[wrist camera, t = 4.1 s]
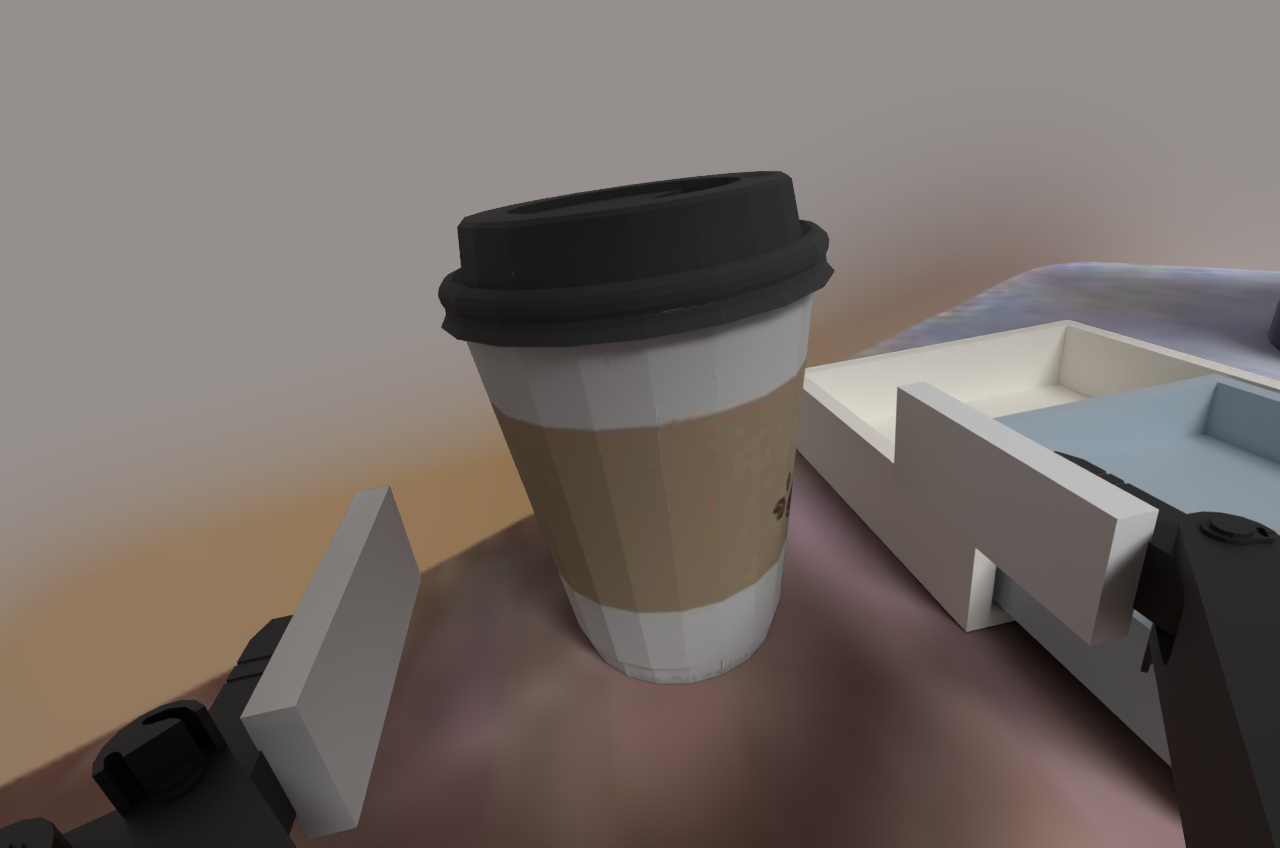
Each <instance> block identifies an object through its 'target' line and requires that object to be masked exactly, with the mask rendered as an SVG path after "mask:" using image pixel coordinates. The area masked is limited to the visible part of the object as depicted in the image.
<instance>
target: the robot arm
mask: <svg viewBox="0 0 1280 848" xmlns="http://www.w3.org/2000/svg"><path fill="white" fill-rule="evenodd" d="M1269 337H1270V339H1271V340H1272V342H1273V343H1275V344H1276V345H1277V346H1278V347H1280V300H1279V302H1278V304H1277V307H1276V310H1275V314H1274V317H1273V320H1272V324H1271V327H1270V330H1269ZM894 478H895V479H896V480H897V481H898V482H899V483H901V484H902V485H903V486H904V487H905V488H906V489H908V490H909V491H910V492H911V493H912V494H913V495H915V496H916V497H917V498H918V499H919V500H920V501H922V502H923V503H924V504H925V505H926V506H927V507H929V508H930V509H931V510H932V511H933V512H934V513H936V514H937V515H938V516H939V517H940V518H941V519H943V520H944V521H945V522H946V523H947V524H948V525H950V526H951V527H952V528H953V529H954V530H955V531H957V532H958V533H959V534H960V535H961V536H962V537H964V538H965V539H966V540H967V541H968V542H969V543H971V544H972V545H973V546H974V547H975V548H976V549H978V550H979V551H980V552H981V553H982V554H983V555H985V556H986V557H987V558H988V559H989V560H990V561H992V562H993V563H994V564H995V565H996V566H997V567H999V568H1000V569H1001V570H1002V571H1003V572H1004V573H1006V574H1007V575H1008V576H1009V577H1010V578H1011V579H1013V580H1014V581H1015V582H1016V583H1017V584H1018V585H1020V586H1021V587H1022V588H1023V589H1024V590H1025V591H1027V592H1028V593H1029V594H1030V595H1031V596H1032V597H1034V598H1035V599H1036V600H1037V601H1038V602H1039V603H1041V604H1042V605H1043V606H1044V607H1045V608H1046V609H1048V610H1049V611H1050V612H1051V613H1052V614H1054V615H1055V616H1056V617H1057V618H1058V619H1059V620H1061V621H1062V622H1063V623H1064V624H1065V625H1066V626H1068V627H1069V628H1070V629H1071V630H1072V631H1073V632H1075V633H1076V634H1077V635H1078V636H1079V637H1080V638H1082V639H1083V640H1084V641H1085V642H1086V643H1087V644H1089V645H1094V644H1098V643H1102V642H1106V641H1110V640H1115V639H1119V638H1123V637H1127V636H1128V632H1129V628H1130V624H1131V620H1132V616H1133V612H1134V609H1135V610H1136V611H1137V612H1139V613H1140V614H1142V615H1143V616H1144V617H1146V618H1147V619H1148V620H1150V621H1151V622H1152V623H1153V624H1152V627H1151V631H1150V635H1149V638H1148V642H1147V646H1146V650H1145V653H1144V657H1143V661H1142V665H1141V669H1140V671H1141V672H1145V673H1148V671H1149V668H1150V665H1152V664H1153V667H1154V672H1155V678H1156V683H1157V689H1158V694H1159V700H1160V705H1161V711H1162V717H1163V722H1164V728H1165V733H1166V739H1167V744H1168V750H1169V755H1170V761H1171V766H1172V772H1173V777H1174V783H1175V789H1176V794H1177V800H1178V805H1179V811H1180V816H1181V822H1182V827H1183V833H1184V838H1185V844H1186V848H1280V535H1278V534H1277V533H1276V532H1275V531H1274V530H1272V529H1270V528H1268V527H1266V526H1265V525H1263V524H1261V523H1259V522H1256V521H1253V520H1250V519H1247V518H1245V517H1242V516H1237V515H1232V514H1227V513H1222V512H1207V511H1202V512H1195V513H1189V514H1186V513H1184V512H1182V511H1180V510H1178V509H1177V508H1175V507H1173V506H1171V505H1169V504H1167V503H1165V502H1163V501H1162V500H1160V499H1158V498H1156V497H1154V496H1152V495H1150V494H1148V493H1146V492H1145V491H1143V490H1141V489H1139V488H1137V487H1135V486H1133V485H1131V484H1130V483H1127V484H1125V483H1124V480H1122V479H1120V478H1118V477H1116V476H1114V475H1113V474H1111V473H1110V474H1107V473H1106V471H1105V470H1103V469H1101V468H1099V467H1097V466H1096V465H1094V464H1092V463H1090V462H1088V461H1086V460H1084V459H1081V458H1078V457H1075V456H1071V455H1068V454H1065V453H1061V452H1058V451H1054V452H1053V451H1051V450H1049V449H1047V448H1045V447H1044V446H1042V445H1040V444H1038V443H1036V442H1034V441H1033V440H1031V439H1029V438H1027V437H1025V436H1023V435H1022V434H1020V433H1018V432H1016V431H1014V430H1012V429H1011V428H1009V427H1007V426H1005V425H1003V424H1001V423H1000V422H998V421H996V420H994V419H992V418H991V417H989V416H987V415H985V414H983V413H981V412H980V411H978V410H976V409H974V408H972V407H970V406H969V405H967V404H965V403H963V402H961V401H959V400H958V399H956V398H954V397H952V396H950V395H949V394H947V393H945V392H943V391H941V390H939V389H938V388H936V387H934V386H932V385H930V384H928V383H927V382H925V381H923V382H918V383H913V384H908V385H903V386H898V387H897V405H896V429H895V454H894ZM420 581H421V574H420V572H419V569H418V566H417V563H416V560H415V557H414V554H413V551H412V549H411V546H410V543H409V540H408V537H407V534H406V531H405V528H404V526H403V523H402V520H401V517H400V514H399V511H398V508H397V506H396V502H395V500H394V497H393V494H392V491H391V488H390V486H385V487H380V488H375V489H370V490H365V491H360V492H357V493H356V496H355V497H354V499H353V501H352V503H351V505H350V507H349V509H348V511H347V513H346V515H345V517H344V519H343V520H342V523H341V524H340V527H339V528H338V530H337V532H336V534H335V536H334V538H333V540H332V542H331V544H330V546H329V548H328V549H327V551H326V553H325V555H324V557H323V559H322V561H321V563H320V565H319V567H318V569H317V571H316V573H315V575H314V576H313V579H312V580H311V582H310V584H309V586H308V588H307V590H306V592H305V594H304V596H303V598H302V599H301V601H300V603H299V605H298V607H297V609H296V611H295V613H294V615H290V616H286V617H281V618H276V619H272V620H271V621H270V622H269V623H268V624H266V626H264V627H263V628H262V629H261V630H260V631H259V632H258V633H257V634H256V635H255V636H254V637H253V638H252V639H251V640H250V641H249V643H248V645H247V646H246V648H245V650H244V651H243V653H242V655H241V657H240V658H239V660H238V662H237V663H238V665H237V666H235V667H234V669H233V670H232V672H231V674H230V675H229V677H228V679H227V684H225V685H224V686H223V687H222V689H221V691H220V693H219V694H218V696H217V698H216V699H215V701H214V703H213V705H212V706H211V708H210V710H209V711H207V709H206V707H205V706H204V705H203V704H201V703H199V702H198V701H196V700H180V701H176V702H173V703H169V704H166V705H162V706H160V707H158V708H156V709H154V710H152V711H150V712H148V713H146V714H144V715H142V716H140V717H138V718H137V719H135V720H134V721H133V722H131V723H130V724H128V725H127V726H126V727H124V728H123V729H121V730H120V731H119V732H118V733H117V734H116V735H115V736H114V737H113V738H112V739H111V740H110V741H109V742H108V743H107V744H106V745H105V746H104V747H103V748H102V750H101V751H100V753H99V754H98V756H97V758H96V759H95V761H94V763H93V771H92V777H93V778H94V780H95V781H96V783H97V784H98V785H99V787H100V788H101V789H102V791H103V792H104V793H105V795H106V796H107V797H108V799H109V800H110V801H111V803H112V804H113V805H114V807H115V808H116V809H117V810H115V811H113V812H110V813H108V814H106V815H104V816H102V817H100V818H98V819H95V820H93V821H91V822H89V823H87V824H85V825H83V826H80V827H78V828H76V829H74V830H72V831H70V832H68V833H65V834H63V835H62V834H61V833H60V832H59V830H58V829H57V828H56V827H55V825H54V824H53V823H52V822H50V821H48V820H46V819H43V818H34V819H26V820H22V821H19V822H17V823H14V824H12V825H9V826H7V827H4V828H2V829H0V848H297V847H296V846H295V844H294V843H293V841H292V840H291V838H290V837H289V833H290V831H291V828H292V825H293V822H294V819H295V817H296V819H297V820H298V822H299V824H300V826H301V828H302V829H303V831H304V833H305V835H306V836H307V838H308V840H309V839H313V838H317V837H321V836H325V835H329V834H333V833H337V832H341V831H345V830H349V829H353V828H357V826H358V822H359V818H360V814H361V810H362V806H363V802H364V799H365V795H366V791H367V787H368V783H369V779H370V775H371V771H372V767H373V764H374V760H375V756H376V752H377V748H378V744H379V740H380V736H381V732H382V728H383V725H384V721H385V717H386V713H387V709H388V705H389V701H390V697H391V693H392V690H393V686H394V682H395V678H396V674H397V670H398V666H399V662H400V658H401V655H402V651H403V647H404V643H405V639H406V635H407V631H408V627H409V623H410V619H411V616H412V612H413V608H414V604H415V600H416V596H417V592H418V588H419V584H420Z"/></svg>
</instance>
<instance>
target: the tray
mask: <svg viewBox="0 0 1280 848" xmlns="http://www.w3.org/2000/svg"><path fill="white" fill-rule="evenodd" d="M992 419H994V420H996V421H998V422H1000V423H1001V424H1003V425H1005V426H1007V427H1009V428H1011V429H1012V430H1014V431H1016V432H1018V433H1020V434H1022V435H1023V436H1025V437H1027V438H1029V439H1031V440H1033V441H1034V442H1036V443H1038V444H1040V445H1042V446H1044V447H1045V448H1047V449H1049V450H1051V451H1053V452H1054V451H1058V452H1061V453H1065V454H1068V455H1071V456H1075V457H1078V458H1081V459H1084V460H1086V461H1088V462H1090V463H1092V464H1094V465H1096V466H1097V467H1099V468H1101V469H1103V470H1105V471H1106V473H1107V474H1110V473H1111V474H1113V475H1114V476H1116V477H1118V478H1120V479H1122V480H1124V483H1125V484H1127V483H1130V484H1131V485H1133V486H1135V487H1137V488H1139V489H1141V490H1143V491H1145V492H1146V493H1148V494H1150V495H1152V496H1154V497H1156V498H1158V499H1160V500H1162V501H1163V502H1165V503H1167V504H1169V505H1171V506H1173V507H1175V508H1177V509H1178V510H1180V511H1182V512H1184V513H1186V514H1189V513H1195V512H1202V511H1207V512H1222V513H1227V514H1232V515H1237V516H1242V517H1245V518H1247V519H1250V520H1253V521H1256V522H1259V523H1261V524H1263V525H1265V526H1266V527H1268V528H1270V529H1272V530H1274V531H1275V532H1276V533H1277V534H1278V535H1280V393H1276V392H1273V391H1270V390H1267V389H1263V388H1260V387H1257V386H1254V385H1250V384H1247V383H1244V382H1241V381H1237V380H1234V379H1231V378H1228V377H1224V376H1221V375H1218V374H1211V375H1206V376H1201V377H1196V378H1191V379H1186V380H1181V381H1176V382H1171V383H1166V384H1161V385H1156V386H1151V387H1146V388H1141V389H1136V390H1131V391H1126V392H1121V393H1116V394H1111V395H1106V396H1101V397H1096V398H1091V399H1086V400H1081V401H1076V402H1071V403H1066V404H1061V405H1056V406H1051V407H1046V408H1041V409H1036V410H1031V411H1026V412H1021V413H1016V414H1011V415H1006V416H1001V417H996V418H992ZM992 598H993V599H994V600H995V601H996V602H997V603H998V604H999V605H1000V606H1001V607H1002V608H1003V609H1004V610H1005V611H1006V612H1007V613H1008V614H1009V615H1011V616H1012V617H1013V618H1014V619H1015V620H1016V621H1017V622H1018V623H1019V624H1020V625H1021V626H1022V627H1023V628H1024V629H1025V630H1026V631H1027V632H1029V633H1030V634H1031V635H1032V636H1033V637H1034V638H1035V639H1036V640H1037V641H1038V642H1039V643H1040V644H1041V645H1042V646H1043V647H1044V648H1045V649H1047V650H1048V651H1049V652H1050V653H1051V654H1052V655H1053V656H1054V657H1055V658H1056V659H1057V660H1058V661H1059V662H1060V663H1061V664H1062V665H1063V666H1065V667H1066V668H1067V669H1068V670H1069V671H1070V672H1071V673H1072V674H1073V675H1074V676H1075V677H1076V678H1077V679H1078V680H1079V681H1080V682H1081V683H1083V684H1084V685H1085V686H1086V687H1087V688H1088V689H1089V690H1090V691H1091V692H1092V693H1093V694H1094V695H1095V696H1096V697H1097V698H1098V699H1099V700H1101V701H1102V702H1103V703H1104V704H1105V705H1106V706H1107V707H1108V708H1109V709H1110V710H1111V711H1112V712H1113V713H1114V714H1115V715H1116V716H1117V717H1119V718H1120V719H1121V720H1122V721H1123V722H1124V723H1125V724H1126V725H1127V726H1128V727H1129V728H1130V729H1131V730H1132V731H1133V732H1134V733H1135V734H1137V735H1138V736H1139V737H1140V738H1141V739H1142V740H1143V741H1144V742H1145V743H1146V744H1147V745H1148V746H1149V747H1150V748H1151V749H1152V750H1153V751H1154V752H1156V753H1157V754H1158V755H1159V756H1160V757H1161V758H1162V759H1163V760H1164V761H1165V762H1166V763H1167V764H1168V765H1169V766H1170V767H1171V768H1172V766H1171V761H1170V755H1169V750H1168V744H1167V739H1166V733H1165V728H1164V722H1163V717H1162V711H1161V705H1160V700H1159V694H1158V689H1157V683H1156V678H1155V672H1154V667H1153V664H1152V665H1150V668H1149V671H1148V673H1145V672H1141V671H1140V669H1141V665H1142V661H1143V657H1144V653H1145V650H1146V646H1147V642H1148V638H1149V635H1150V631H1151V627H1152V624H1153V623H1152V622H1151V621H1150V620H1148V619H1147V618H1146V617H1144V616H1143V615H1142V614H1140V613H1139V612H1137V611H1136V610H1135V609H1134V612H1133V616H1132V620H1131V624H1130V628H1129V632H1128V636H1127V637H1123V638H1119V639H1115V640H1110V641H1106V642H1102V643H1098V644H1094V645H1089V644H1087V643H1086V642H1085V641H1084V640H1083V639H1082V638H1080V637H1079V636H1078V635H1077V634H1076V633H1075V632H1073V631H1072V630H1071V629H1070V628H1069V627H1068V626H1066V625H1065V624H1064V623H1063V622H1062V621H1061V620H1059V619H1058V618H1057V617H1056V616H1055V615H1054V614H1052V613H1051V612H1050V611H1049V610H1048V609H1046V608H1045V607H1044V606H1043V605H1042V604H1041V603H1039V602H1038V601H1037V600H1036V599H1035V598H1034V597H1032V596H1031V595H1030V594H1029V593H1028V592H1027V591H1025V590H1024V589H1023V588H1022V587H1021V586H1020V585H1018V584H1017V583H1016V582H1015V581H1014V580H1013V579H1011V578H1010V577H1009V576H1008V575H1007V574H1006V573H1004V572H1003V571H1002V570H1001V569H1000V568H999V567H997V566H996V572H995V580H994V587H993V595H992Z"/></svg>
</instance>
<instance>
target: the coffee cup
mask: <svg viewBox="0 0 1280 848" xmlns="http://www.w3.org/2000/svg"><path fill="white" fill-rule="evenodd" d="M457 228H458V239H459V250H460V259H461V268H459V269H458V270H456V271H454V272H452V273H450V274H448V275H447V276H446V277H445V278H444V280H443V282H442V283H441V285H440V287H439V291H438V297H439V299H440V302H441V304H442V305H443V307H444V308H445V311H446V316H445V319H444V321H443V324H442V328H443V329H444V330H445V331H447V332H448V333H449V334H451V335H452V336H454V337H455V338H456V339H458V340H463V341H467V344H468V346H469V349H470V351H471V354H472V356H473V359H474V362H475V364H476V367H477V369H478V372H479V374H480V377H481V379H482V382H483V384H484V386H485V389H486V392H487V394H488V397H489V399H490V402H491V404H492V407H493V409H494V412H495V414H496V417H497V419H498V422H499V424H500V427H501V429H502V432H503V435H504V437H505V439H506V442H507V444H508V447H509V450H510V452H511V455H512V457H513V460H514V462H515V465H516V467H517V470H518V472H519V475H520V477H521V480H522V482H523V485H524V487H525V490H526V492H527V495H528V497H529V500H530V502H531V505H532V507H533V510H534V512H535V515H536V518H537V520H538V523H539V525H540V528H541V530H542V533H543V535H544V538H545V540H546V543H547V545H548V548H549V550H550V553H551V555H552V558H553V560H554V563H555V565H556V568H557V570H558V573H559V575H560V578H561V580H562V583H563V585H564V588H565V590H566V593H567V595H568V598H569V601H570V603H571V606H572V608H573V611H574V613H575V616H576V618H577V621H578V623H579V626H580V627H581V629H582V630H583V631H584V633H585V634H586V636H587V637H588V638H589V640H590V641H591V643H592V645H593V646H594V647H595V649H596V650H597V652H598V653H599V654H600V656H601V657H602V658H603V660H604V661H605V662H606V663H607V664H609V665H611V666H612V667H614V668H615V669H617V670H618V671H620V672H622V673H623V674H625V675H626V676H628V677H632V678H636V679H640V680H644V681H648V682H652V683H655V684H691V683H694V682H698V681H702V680H706V679H709V678H713V677H717V676H720V675H723V674H725V673H726V672H728V671H730V670H731V669H733V668H735V667H737V666H738V665H740V664H742V663H743V662H745V661H747V660H748V659H749V658H750V657H751V656H752V655H753V654H754V652H755V651H756V650H757V649H758V648H759V647H760V646H761V644H762V643H763V642H764V641H765V640H766V637H767V634H768V631H769V628H770V625H771V622H772V620H773V617H774V614H775V611H776V608H777V605H778V602H779V599H780V592H781V583H782V574H783V565H784V556H785V547H786V538H787V529H788V519H789V510H790V501H791V492H792V483H793V474H794V465H795V456H796V447H797V438H798V429H799V420H800V411H801V402H802V393H803V384H804V375H805V365H806V357H807V348H808V339H809V330H810V321H811V311H812V302H813V293H814V292H815V291H817V290H819V289H821V288H823V287H824V286H825V285H826V283H827V282H828V280H829V279H830V277H831V276H832V274H833V273H834V269H833V268H832V267H831V266H830V265H829V264H828V263H827V260H826V252H827V250H828V245H829V238H828V235H827V233H826V232H825V231H824V230H823V229H822V228H821V227H819V226H818V225H817V224H815V223H813V222H811V221H805V220H799V216H798V211H797V205H796V200H795V194H794V188H793V183H792V178H791V177H789V176H788V175H787V174H785V173H783V172H780V171H757V172H742V173H728V174H717V175H707V176H697V177H689V178H680V179H672V180H664V181H656V182H648V183H641V184H634V185H627V186H619V187H613V188H607V189H600V190H594V191H588V192H580V193H574V194H569V195H563V196H557V197H552V198H545V199H540V200H535V201H530V202H525V203H520V204H514V205H509V206H505V207H501V208H496V209H492V210H488V211H484V212H480V213H477V214H474V215H470V216H468V217H465V218H464V219H463V220H462V221H461V223H460V224H459V225H458V227H457Z"/></svg>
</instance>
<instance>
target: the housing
mask: <svg viewBox="0 0 1280 848" xmlns="http://www.w3.org/2000/svg"><path fill="white" fill-rule="evenodd" d="M1211 374H1218V375H1221V376H1224V377H1228V378H1231V379H1234V380H1237V381H1241V382H1244V383H1247V384H1250V385H1254V386H1257V387H1260V388H1263V389H1267V390H1270V391H1273V392H1276V393H1280V381H1279V380H1275V379H1272V378H1268V377H1265V376H1261V375H1258V374H1254V373H1251V372H1248V371H1244V370H1241V369H1237V368H1234V367H1230V366H1227V365H1224V364H1220V363H1217V362H1213V361H1210V360H1206V359H1203V358H1199V357H1196V356H1193V355H1189V354H1186V353H1182V352H1179V351H1175V350H1172V349H1168V348H1165V347H1162V346H1158V345H1155V344H1151V343H1148V342H1144V341H1141V340H1137V339H1134V338H1131V337H1127V336H1124V335H1120V334H1117V333H1113V332H1110V331H1107V330H1103V329H1100V328H1096V327H1093V326H1089V325H1086V324H1082V323H1079V322H1076V321H1072V320H1069V319H1068V320H1063V321H1057V322H1052V323H1047V324H1041V325H1036V326H1030V327H1025V328H1020V329H1014V330H1009V331H1004V332H998V333H993V334H987V335H982V336H977V337H971V338H966V339H960V340H955V341H950V342H944V343H939V344H933V345H928V346H923V347H917V348H912V349H906V350H901V351H896V352H890V353H885V354H879V355H874V356H869V357H863V358H858V359H853V360H847V361H842V362H836V363H831V364H826V365H820V366H815V367H809V368H805V375H804V384H803V393H802V402H801V411H800V420H799V429H798V438H797V447H796V449H797V450H798V451H799V452H800V453H801V454H802V455H803V456H804V457H805V459H806V460H807V461H808V462H809V463H810V464H811V465H812V466H813V467H814V468H815V469H816V470H817V472H818V473H819V474H820V475H821V476H822V477H823V478H824V479H825V480H826V481H827V482H828V483H829V484H830V486H831V487H832V488H833V489H834V490H835V491H836V492H837V493H838V494H839V495H840V496H841V497H842V498H843V500H844V501H845V502H846V503H847V504H848V505H849V506H850V507H851V508H852V509H853V510H854V511H855V513H856V514H857V515H858V516H859V517H860V518H861V519H862V520H863V521H864V522H865V523H866V524H867V525H868V527H869V528H870V529H871V530H872V531H873V532H874V533H875V534H876V535H877V536H878V537H879V538H880V540H881V541H882V542H883V543H884V544H885V545H886V546H887V547H888V548H889V549H890V550H891V551H892V552H893V554H894V555H895V556H896V557H897V558H898V559H899V560H900V561H901V562H902V563H903V564H904V565H905V566H906V568H907V569H908V570H909V571H910V572H911V573H912V574H913V575H914V576H915V577H916V578H917V579H918V581H919V582H920V583H921V584H922V585H923V586H924V587H925V588H926V589H927V590H928V591H929V592H930V593H931V595H932V596H933V597H934V598H935V599H936V600H937V601H938V602H939V603H940V604H941V605H942V606H943V608H944V609H945V610H946V611H947V612H948V613H949V614H950V615H951V616H952V617H953V618H954V619H955V620H956V622H957V623H958V624H959V625H960V626H961V627H962V628H963V629H964V630H965V631H966V632H969V631H973V630H978V629H982V628H986V627H990V626H995V625H999V624H1003V623H1007V622H1012V621H1016V620H1015V619H1014V618H1013V617H1012V616H1011V615H1009V614H1008V613H1007V612H1006V611H1005V610H1004V609H1003V608H1002V607H1001V606H1000V605H999V604H998V603H997V602H996V601H995V600H994V599H993V598H992V595H993V587H994V580H995V572H996V565H995V564H994V563H993V562H992V561H990V560H989V559H988V558H987V557H986V556H985V555H983V554H982V553H981V552H980V551H979V550H978V549H976V548H975V547H974V546H973V545H972V544H971V543H969V542H968V541H967V540H966V539H965V538H964V537H962V536H961V535H960V534H959V533H958V532H957V531H955V530H954V529H953V528H952V527H951V526H950V525H948V524H947V523H946V522H945V521H944V520H943V519H941V518H940V517H939V516H938V515H937V514H936V513H934V512H933V511H932V510H931V509H930V508H929V507H927V506H926V505H925V504H924V503H923V502H922V501H920V500H919V499H918V498H917V497H916V496H915V495H913V494H912V493H911V492H910V491H909V490H908V489H906V488H905V487H904V486H903V485H902V484H901V483H899V482H898V481H897V480H896V479H895V478H894V454H895V429H896V405H897V387H898V386H903V385H908V384H913V383H918V382H923V381H925V382H927V383H928V384H930V385H932V386H934V387H936V388H938V389H939V390H941V391H943V392H945V393H947V394H949V395H950V396H952V397H954V398H956V399H958V400H959V401H961V402H963V403H965V404H967V405H969V406H970V407H972V408H974V409H976V410H978V411H980V412H981V413H983V414H985V415H987V416H989V417H991V418H996V417H1001V416H1006V415H1011V414H1016V413H1021V412H1026V411H1031V410H1036V409H1041V408H1046V407H1051V406H1056V405H1061V404H1066V403H1071V402H1076V401H1081V400H1086V399H1091V398H1096V397H1101V396H1106V395H1111V394H1116V393H1121V392H1126V391H1131V390H1136V389H1141V388H1146V387H1151V386H1156V385H1161V384H1166V383H1171V382H1176V381H1181V380H1186V379H1191V378H1196V377H1201V376H1206V375H1211Z"/></svg>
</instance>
